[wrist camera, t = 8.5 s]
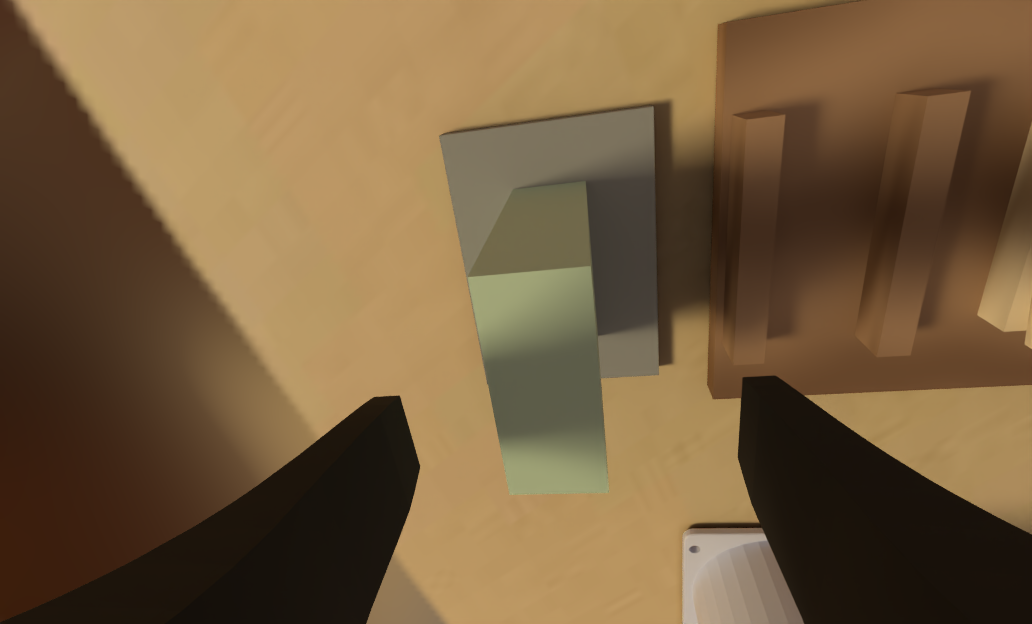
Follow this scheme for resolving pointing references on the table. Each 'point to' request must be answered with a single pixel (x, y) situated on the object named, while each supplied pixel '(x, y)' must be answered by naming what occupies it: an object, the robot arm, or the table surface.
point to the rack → (866, 195)
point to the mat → (611, 210)
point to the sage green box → (543, 341)
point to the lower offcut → (1013, 257)
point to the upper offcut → (1029, 329)
